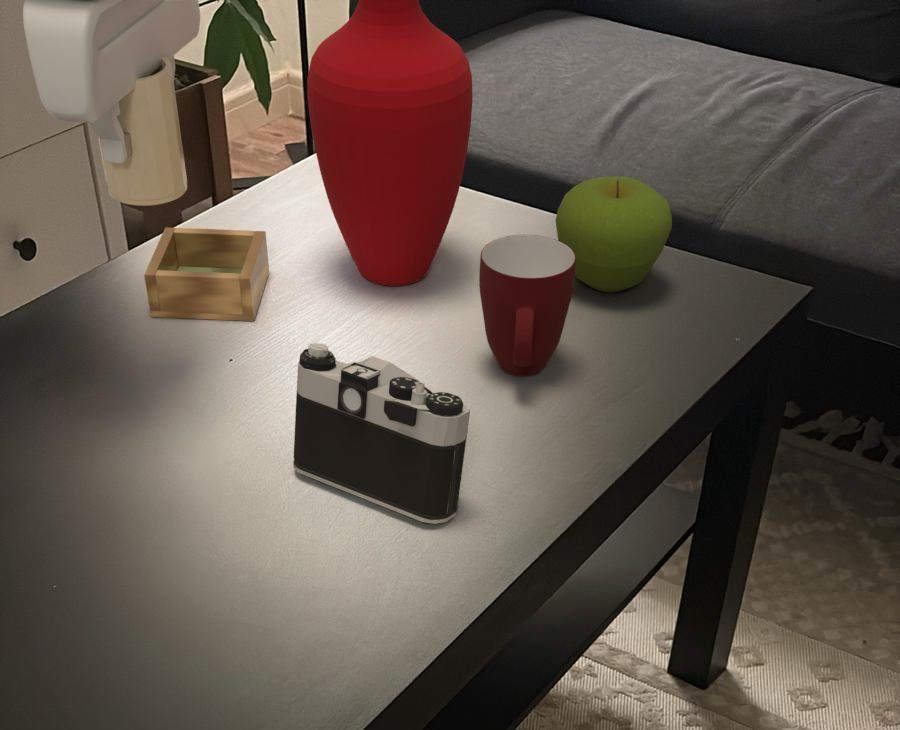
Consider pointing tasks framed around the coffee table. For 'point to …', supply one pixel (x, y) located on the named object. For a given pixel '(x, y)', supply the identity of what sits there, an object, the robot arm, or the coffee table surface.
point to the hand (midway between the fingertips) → (139, 140)
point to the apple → (613, 230)
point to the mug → (525, 299)
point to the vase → (390, 135)
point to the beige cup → (149, 144)
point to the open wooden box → (207, 274)
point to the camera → (379, 434)
